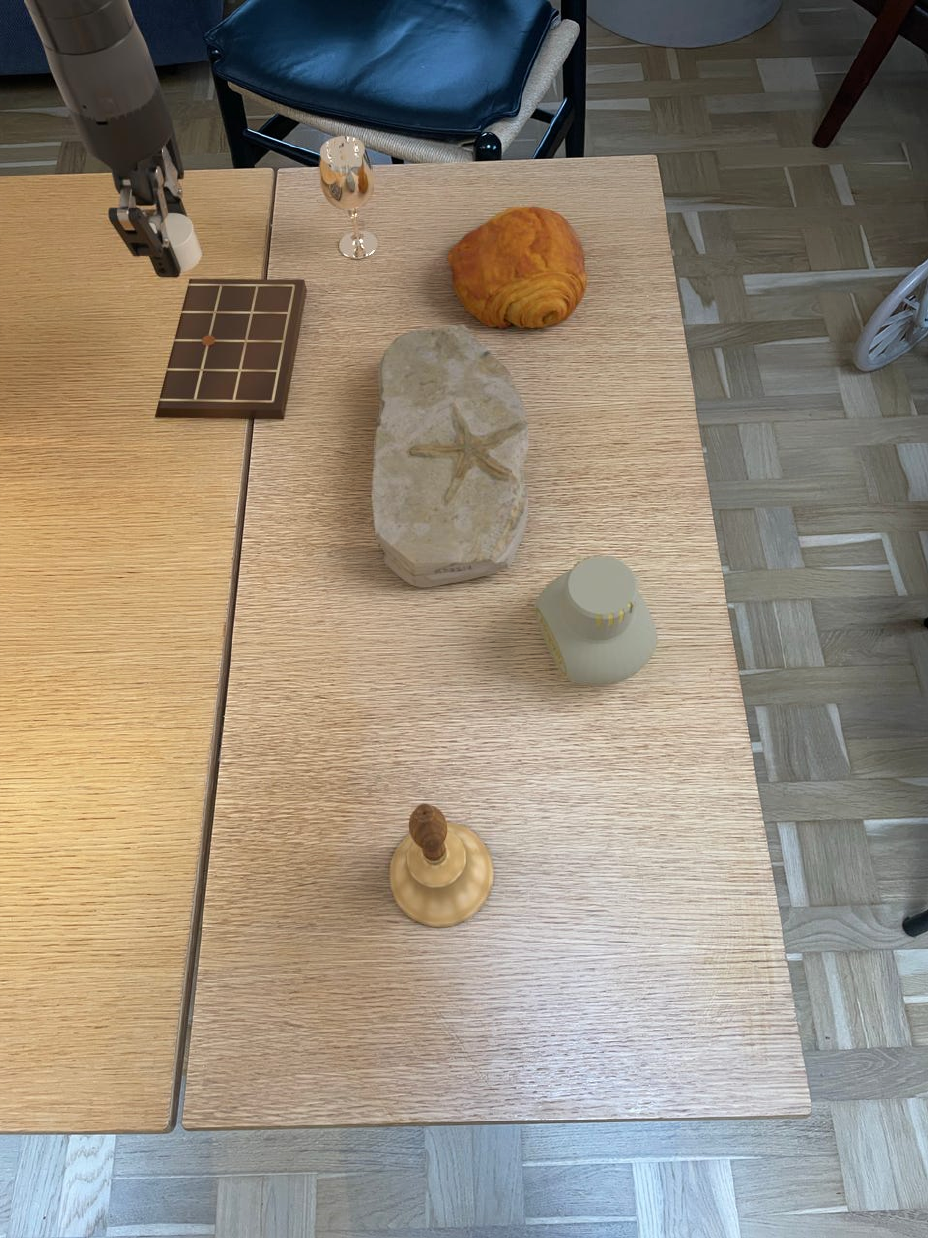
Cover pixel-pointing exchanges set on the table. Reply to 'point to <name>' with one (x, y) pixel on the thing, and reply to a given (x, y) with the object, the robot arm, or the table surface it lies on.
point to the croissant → (520, 269)
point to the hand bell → (440, 870)
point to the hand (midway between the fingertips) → (175, 253)
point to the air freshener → (596, 622)
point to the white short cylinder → (182, 240)
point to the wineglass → (348, 188)
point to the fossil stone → (448, 459)
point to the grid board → (234, 349)
